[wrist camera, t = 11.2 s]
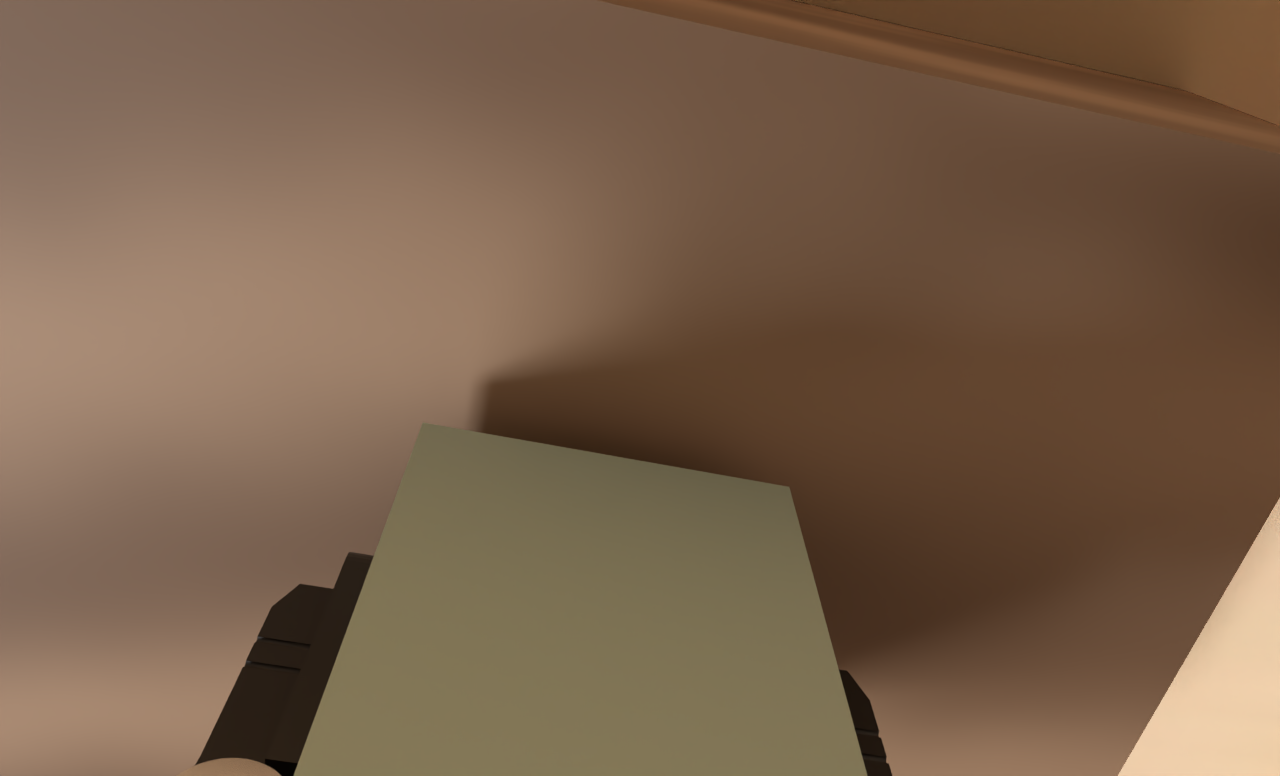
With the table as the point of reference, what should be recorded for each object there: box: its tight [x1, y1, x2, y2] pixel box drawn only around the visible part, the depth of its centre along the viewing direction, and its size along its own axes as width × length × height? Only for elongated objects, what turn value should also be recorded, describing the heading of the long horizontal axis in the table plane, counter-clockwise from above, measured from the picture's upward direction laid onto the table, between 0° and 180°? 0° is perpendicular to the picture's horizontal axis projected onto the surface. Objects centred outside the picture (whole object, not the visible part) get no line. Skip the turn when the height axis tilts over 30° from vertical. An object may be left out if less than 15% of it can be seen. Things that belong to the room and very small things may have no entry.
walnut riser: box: [0, 0, 1280, 776], centre depth 19 cm, size 16×20×7 cm
